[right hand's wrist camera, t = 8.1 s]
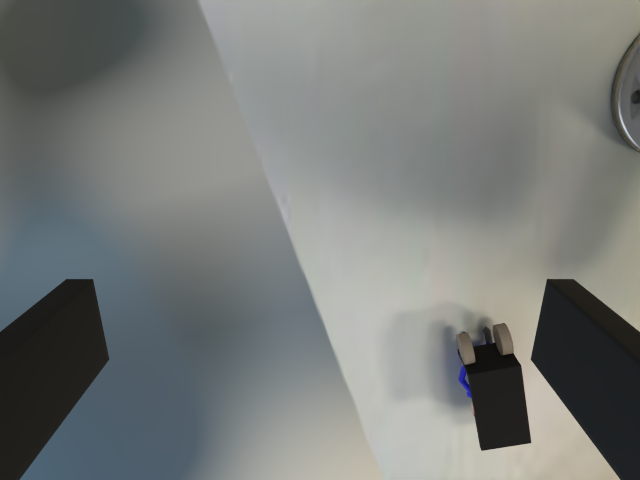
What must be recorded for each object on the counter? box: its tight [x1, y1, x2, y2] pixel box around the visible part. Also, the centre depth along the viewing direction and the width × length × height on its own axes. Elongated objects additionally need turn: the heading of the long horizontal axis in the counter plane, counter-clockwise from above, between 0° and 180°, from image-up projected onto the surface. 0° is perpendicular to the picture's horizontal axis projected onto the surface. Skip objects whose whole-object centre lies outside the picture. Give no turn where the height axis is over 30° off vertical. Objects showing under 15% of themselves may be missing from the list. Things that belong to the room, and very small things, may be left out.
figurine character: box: [457, 323, 531, 451], centre depth 54 cm, size 7×8×15 cm
